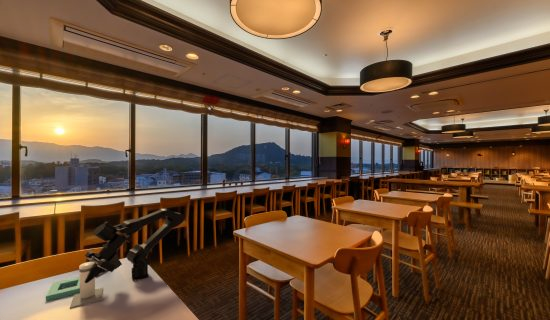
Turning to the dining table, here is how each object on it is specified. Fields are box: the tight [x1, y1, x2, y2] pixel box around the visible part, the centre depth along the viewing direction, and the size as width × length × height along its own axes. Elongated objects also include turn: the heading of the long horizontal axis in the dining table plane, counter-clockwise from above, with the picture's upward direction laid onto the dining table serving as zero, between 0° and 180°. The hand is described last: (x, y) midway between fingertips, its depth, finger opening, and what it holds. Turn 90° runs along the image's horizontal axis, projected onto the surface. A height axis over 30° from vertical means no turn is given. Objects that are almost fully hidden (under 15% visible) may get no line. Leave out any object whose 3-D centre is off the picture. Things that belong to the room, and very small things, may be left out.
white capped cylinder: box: [78, 261, 96, 298], centre depth 99 cm, size 5×5×13 cm
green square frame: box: [45, 276, 80, 302], centre depth 105 cm, size 12×12×2 cm
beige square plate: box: [69, 287, 104, 309], centre depth 99 cm, size 10×10×1 cm
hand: (83, 280), depth 98 cm, fingers closed on white capped cylinder, 5 cm apart
